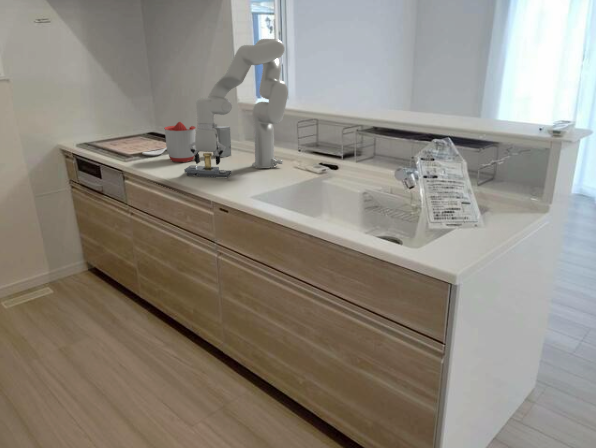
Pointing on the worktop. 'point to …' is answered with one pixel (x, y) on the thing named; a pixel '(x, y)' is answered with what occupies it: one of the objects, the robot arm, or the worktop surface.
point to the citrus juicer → (180, 142)
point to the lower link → (216, 174)
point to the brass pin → (207, 160)
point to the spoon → (154, 152)
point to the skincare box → (224, 140)
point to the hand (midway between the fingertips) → (207, 163)
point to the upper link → (199, 170)
